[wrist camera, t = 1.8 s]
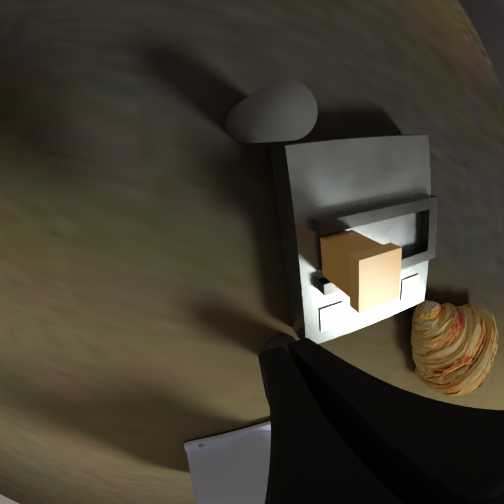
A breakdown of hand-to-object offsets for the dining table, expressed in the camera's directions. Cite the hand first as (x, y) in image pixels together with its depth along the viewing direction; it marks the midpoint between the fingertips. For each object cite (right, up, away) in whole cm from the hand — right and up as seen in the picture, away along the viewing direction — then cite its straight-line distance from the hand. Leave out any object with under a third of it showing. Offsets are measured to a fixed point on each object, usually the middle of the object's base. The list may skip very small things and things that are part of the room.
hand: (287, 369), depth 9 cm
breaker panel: (+6, +5, +11) cm, 13 cm away
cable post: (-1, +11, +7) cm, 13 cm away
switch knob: (+4, +4, +8) cm, 9 cm away
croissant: (+20, -6, +19) cm, 28 cm away
